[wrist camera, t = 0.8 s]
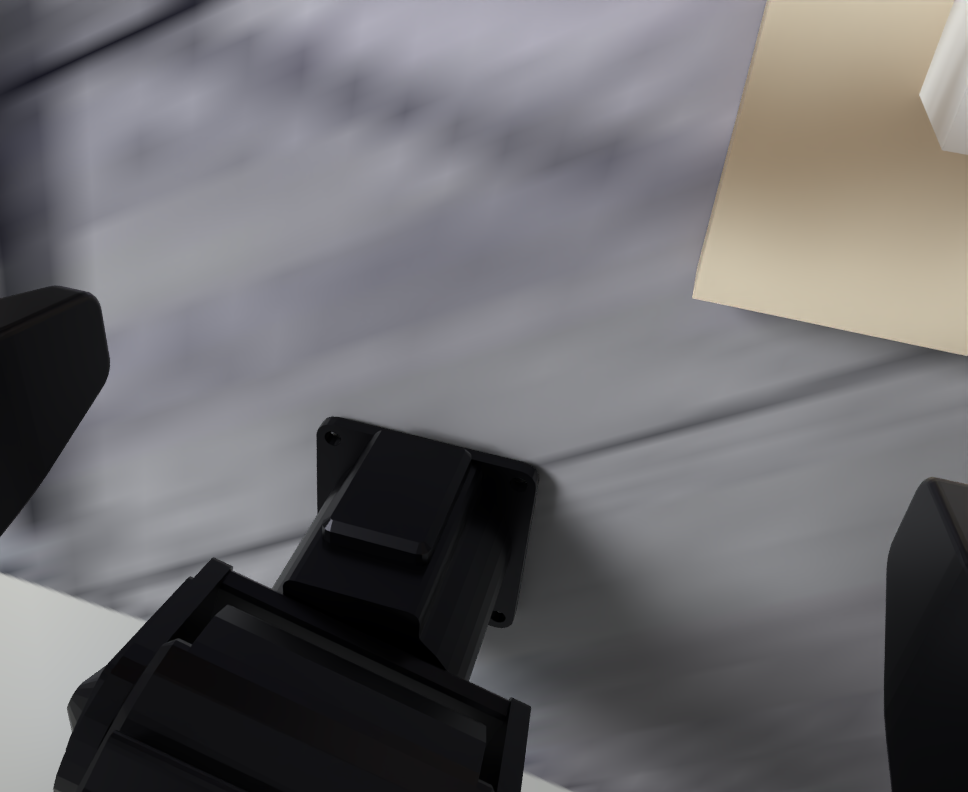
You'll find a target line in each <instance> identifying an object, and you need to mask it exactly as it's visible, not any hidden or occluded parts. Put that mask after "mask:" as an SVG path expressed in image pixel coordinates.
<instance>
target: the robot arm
mask: <svg viewBox="0 0 968 792" xmlns="http://www.w3.org/2000/svg"><path fill="white" fill-rule="evenodd" d="M109 369H110V357H109V351H108V345H107V340H106V334H105V328H104V322H103V316H102V310H101V306H100V303H99V301H98V300H97V298H96V297H95V296H94V295H93V294H91V293H89V292H86V291H81V290H77V289H72V288H68V287H63V286H50V287H45V288H41V289H37V290H33V291H29V292H25V293H20V294H16V295H12V296H8V297H4V298H0V537H1V535H2V534H3V533H4V532H5V530H6V529H7V528H8V527H9V525H10V524H11V523H12V522H13V520H14V519H15V518H16V517H17V515H18V514H19V513H20V512H21V510H22V509H23V508H24V506H25V505H26V504H27V502H28V501H29V500H30V498H31V497H32V496H33V494H34V493H35V492H36V490H37V489H38V487H39V486H40V484H41V483H42V481H43V480H44V478H45V477H46V475H47V474H48V472H49V471H50V469H51V468H52V466H53V465H54V463H55V461H56V460H57V458H58V457H59V455H60V454H61V452H62V450H63V449H64V447H65V446H66V444H67V443H68V441H69V439H70V438H71V436H72V435H73V433H74V432H75V430H76V428H77V427H78V425H79V424H80V422H81V421H82V419H83V417H84V416H85V414H86V413H87V411H88V410H89V408H90V406H91V405H92V403H93V402H94V400H95V399H96V397H97V395H98V394H99V392H100V391H101V389H102V388H103V386H104V384H105V382H106V380H107V377H108V374H109ZM331 432H335V433H337V434H338V435H339V436H340V438H338V437H336V436H334V435H333V434H332V433H331ZM514 478H521V479H523V480H525V482H526V483H520V482H518V481H516V480H515V479H514ZM538 483H539V475H538V473H537V471H536V469H534V468H533V467H532V466H531V465H529V464H527V463H524V462H520V461H516V460H512V459H508V458H504V457H500V456H496V455H492V454H487V453H483V452H479V451H475V450H471V449H467V448H463V447H459V446H455V445H451V444H447V443H443V442H438V441H434V440H430V439H426V438H422V437H418V436H414V435H410V434H406V433H402V432H398V431H393V430H389V429H385V428H381V427H377V426H373V425H369V424H365V423H361V422H357V421H353V420H349V419H344V418H340V417H329V418H326V419H325V420H324V421H323V423H322V424H321V426H320V427H319V429H318V431H317V509H318V514H317V516H316V518H315V519H314V521H313V522H312V524H311V526H310V527H309V529H308V531H307V532H306V534H305V536H304V537H303V539H302V540H301V542H300V544H299V545H298V547H297V549H296V550H295V552H294V553H293V555H292V557H291V558H290V560H289V562H288V563H287V565H286V567H285V568H284V570H283V571H282V573H281V575H280V576H279V578H278V580H277V581H276V583H275V584H274V586H273V588H272V589H271V588H269V587H267V586H264V585H262V584H260V583H258V582H256V581H254V580H252V579H250V578H247V577H245V576H243V575H241V574H239V573H237V572H235V571H233V566H231V565H229V564H227V563H224V562H222V561H220V560H218V559H216V558H214V557H213V558H212V559H211V560H210V561H209V562H208V563H207V564H206V565H205V566H204V567H203V568H202V570H201V571H200V572H199V573H198V574H197V575H196V576H195V577H194V578H193V577H191V576H190V577H188V578H187V579H186V581H185V582H184V583H183V584H182V585H181V586H180V587H179V588H178V589H177V590H176V591H175V592H174V593H173V594H172V596H171V597H170V598H169V599H168V600H167V601H166V602H165V603H164V604H163V605H162V606H161V607H160V608H159V609H158V610H157V612H156V613H155V614H154V615H153V616H152V617H151V618H150V619H149V620H148V621H147V622H146V623H145V624H144V626H143V627H142V628H141V629H140V630H139V631H138V632H137V633H136V634H135V635H134V636H133V637H132V638H131V640H130V641H129V642H128V643H127V644H126V645H125V646H124V647H123V648H122V649H121V650H120V651H119V652H118V653H117V654H116V655H115V657H114V658H113V659H112V660H111V661H110V662H109V663H108V664H107V665H106V666H105V667H103V668H102V669H101V670H99V671H98V672H96V673H95V674H94V675H92V676H91V677H90V678H88V679H87V680H85V681H84V682H83V683H82V684H81V685H80V686H79V687H78V688H77V690H76V691H75V693H74V694H73V696H72V698H71V700H70V702H69V704H68V707H67V711H68V716H69V720H70V725H71V730H72V734H71V736H70V739H69V742H68V745H67V748H66V752H65V754H64V757H63V759H62V762H61V765H60V767H59V770H58V772H57V775H56V779H55V784H54V788H53V789H54V792H521V785H522V777H523V769H524V761H525V753H526V744H527V736H528V728H529V720H530V712H531V706H529V705H527V704H525V703H522V702H520V701H518V700H516V699H514V698H512V697H511V698H510V699H509V700H507V699H505V698H503V697H501V696H499V695H496V694H494V693H492V692H490V691H488V690H486V689H484V688H482V687H479V686H477V685H475V684H473V683H471V682H469V679H470V676H471V673H472V670H473V667H474V664H475V662H476V659H477V656H478V653H479V650H480V647H481V644H482V641H483V638H484V635H485V632H486V629H487V626H488V625H490V626H494V627H498V628H505V627H508V626H510V625H511V624H512V622H513V620H514V617H515V613H516V609H517V604H518V598H519V592H520V586H521V581H522V575H523V569H524V563H525V558H526V552H527V546H528V540H529V535H530V529H531V523H532V518H533V512H534V506H535V500H536V495H537V489H538ZM497 611H499V612H502V613H499V612H497ZM884 719H885V732H886V743H887V753H888V762H889V771H890V780H891V789H892V792H968V484H964V483H959V482H954V481H949V480H945V479H940V478H935V477H930V478H927V479H926V480H924V481H923V482H922V483H921V484H920V486H919V487H918V489H917V490H916V492H915V495H914V497H913V499H912V501H911V503H910V505H909V507H908V509H907V512H906V514H905V516H904V518H903V520H902V522H901V524H900V527H899V529H898V531H897V533H896V535H895V537H894V539H893V542H892V544H891V547H890V550H889V555H888V560H887V573H886V619H885V664H884Z"/></svg>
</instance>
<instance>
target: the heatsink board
mask: <svg viewBox="0 0 968 792" xmlns="http://www.w3.org/2000/svg"><path fill="white" fill-rule="evenodd" d="M692 298H694V299H699V300H703V301H708V302H713V303H718V304H722V305H727V306H732V307H737V308H741V309H746V310H751V311H756V312H760V313H765V314H770V315H775V316H779V317H784V318H789V319H794V320H798V321H803V322H808V323H813V324H817V325H822V326H827V327H831V328H836V329H841V330H846V331H850V332H855V333H860V334H865V335H869V336H874V337H879V338H884V339H888V340H893V341H898V342H903V343H907V344H912V345H917V346H922V347H926V348H931V349H936V350H941V351H945V352H950V353H955V354H960V355H964V356H968V0H767V2H766V6H765V10H764V14H763V18H762V21H761V25H760V29H759V33H758V37H757V41H756V44H755V48H754V52H753V56H752V60H751V64H750V67H749V71H748V75H747V79H746V83H745V87H744V90H743V94H742V98H741V102H740V106H739V110H738V113H737V117H736V121H735V125H734V129H733V133H732V136H731V140H730V144H729V148H728V152H727V156H726V159H725V163H724V167H723V171H722V175H721V179H720V182H719V186H718V190H717V194H716V198H715V202H714V205H713V209H712V213H711V217H710V221H709V225H708V228H707V232H706V236H705V240H704V244H703V248H702V251H701V255H700V259H699V263H698V267H697V272H696V278H695V284H694V290H693V297H692Z"/></svg>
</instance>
